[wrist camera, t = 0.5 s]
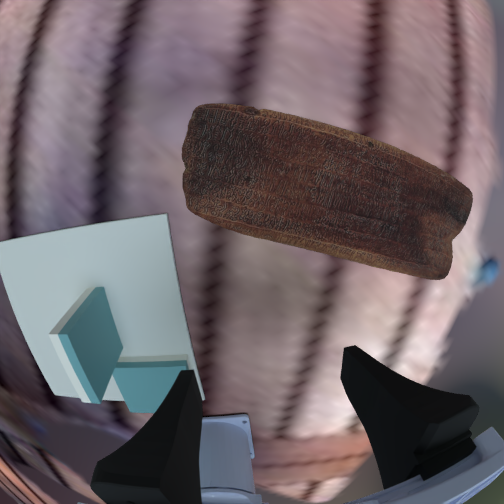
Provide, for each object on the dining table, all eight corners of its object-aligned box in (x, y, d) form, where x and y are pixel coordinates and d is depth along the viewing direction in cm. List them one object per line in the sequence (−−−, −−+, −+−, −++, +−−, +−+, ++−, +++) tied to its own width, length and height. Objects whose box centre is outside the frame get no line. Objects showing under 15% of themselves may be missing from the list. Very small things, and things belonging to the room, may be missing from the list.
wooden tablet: (163, 222, 20) (196, 77, 16) (169, 212, 22) (200, 82, 18) (447, 287, 24) (486, 195, 20) (435, 276, 26) (472, 188, 22)
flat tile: (199, 400, 26) (199, 411, 24) (133, 401, 25) (130, 412, 24) (187, 354, 24) (185, 365, 22) (114, 356, 23) (109, 367, 22)
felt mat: (204, 397, 26) (204, 399, 26) (55, 392, 25) (54, 394, 24) (167, 213, 20) (166, 214, 20) (-5, 242, 19) (-8, 243, 19)
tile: (123, 347, 23) (100, 403, 16) (107, 348, 23) (82, 402, 16) (103, 286, 21) (67, 334, 14) (87, 287, 21) (48, 334, 14)
